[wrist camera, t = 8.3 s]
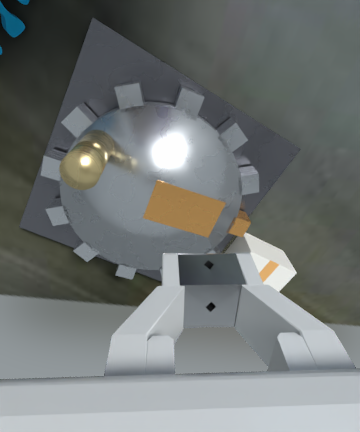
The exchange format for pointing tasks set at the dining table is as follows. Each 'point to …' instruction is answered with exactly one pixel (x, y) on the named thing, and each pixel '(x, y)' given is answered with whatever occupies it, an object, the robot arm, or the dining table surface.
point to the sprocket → (149, 180)
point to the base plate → (153, 92)
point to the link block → (265, 260)
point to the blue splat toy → (11, 21)
